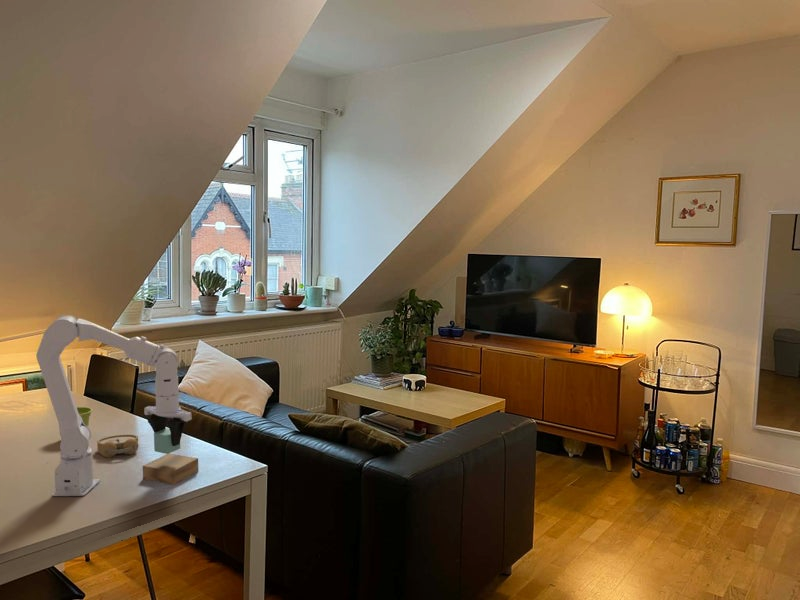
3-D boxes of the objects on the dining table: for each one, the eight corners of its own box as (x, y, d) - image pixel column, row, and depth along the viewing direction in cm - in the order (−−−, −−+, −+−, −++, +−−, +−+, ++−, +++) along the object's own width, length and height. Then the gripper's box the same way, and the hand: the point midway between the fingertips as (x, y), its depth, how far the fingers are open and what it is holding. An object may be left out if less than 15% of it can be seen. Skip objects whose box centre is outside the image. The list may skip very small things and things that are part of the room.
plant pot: (99, 436, 198) (98, 409, 197) (71, 444, 190) (69, 416, 189) (81, 431, 203) (80, 405, 202) (53, 439, 195) (52, 412, 194)
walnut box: (198, 472, 170) (198, 458, 170) (173, 485, 161) (173, 471, 160) (168, 467, 173) (168, 453, 173) (143, 480, 164) (142, 465, 164)
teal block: (180, 448, 166) (179, 430, 166) (167, 453, 162) (167, 435, 162) (167, 446, 168) (166, 428, 168) (154, 451, 164) (153, 433, 164)
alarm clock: (135, 432, 194) (141, 437, 181) (136, 448, 193) (142, 454, 180) (95, 438, 188) (99, 443, 175) (96, 454, 188) (99, 461, 175)
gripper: (199, 393, 165) (200, 442, 166) (157, 387, 171) (159, 435, 172) (180, 399, 158) (181, 451, 160) (137, 393, 164) (139, 443, 165)
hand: (168, 443), depth 165 cm, fingers closed on teal block, 5 cm apart
